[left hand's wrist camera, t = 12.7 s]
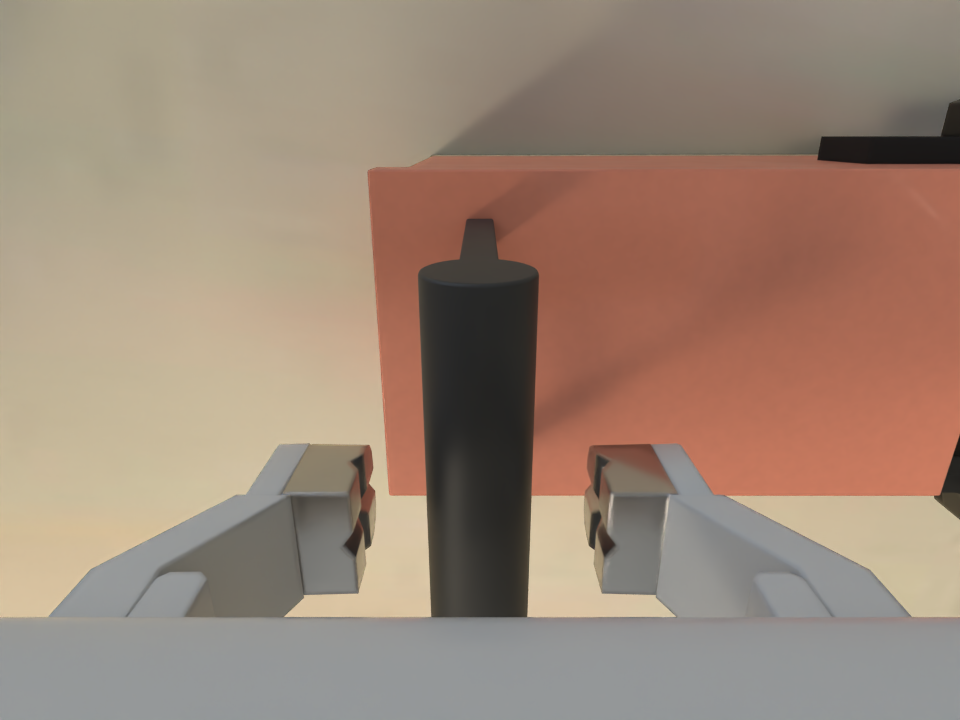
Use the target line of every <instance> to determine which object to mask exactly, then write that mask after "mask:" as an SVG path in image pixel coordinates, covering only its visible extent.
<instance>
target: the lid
mask: <svg viewBox="0 0 960 720" xmlns="http://www.w3.org/2000/svg"><path fill="white" fill-rule="evenodd" d="M368 185H369V200H370V215H371V230H372V245H373V260H374V275H375V290H376V305H377V320H378V335H379V350H380V365H381V380H382V395H383V410H384V425H385V440H386V455H387V470H388V485H389V494H390V495H427V518H428V543H429V568H430V593H431V617H527V608H528V579H529V551H530V522H531V495H585V490H586V489H587V488H588V487H589V486H590V485H591V481H590V478H589V474H588V471H587V458H588V452H589V447H590V446H592V445H625V444H670V443H677V444H679V445H681V446H682V447H683V449H684V450H685V452H686V453H687V455H688V456H689V458H690V459H691V461H692V462H693V464H694V465H695V467H696V468H697V470H698V471H699V473H700V474H701V476H702V477H703V479H704V480H705V482H706V483H707V485H708V486H709V488H710V489H711V491H712V492H713V494H714V495H725V496H938V495H940V494H941V491H942V488H943V484H944V481H945V478H946V475H947V472H948V469H949V466H950V463H951V460H952V457H953V454H954V451H955V448H956V445H957V442H958V439H959V436H960V166H902V167H376V168H373V169H370V170H368Z"/></svg>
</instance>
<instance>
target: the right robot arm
mask: <svg viewBox="0 0 960 720" xmlns="http://www.w3.org/2000/svg"><path fill="white" fill-rule="evenodd" d="M817 160H822V161H835V162H847V163H860V164H960V99H959V100H957V101H954V102H952V103H950V104H949V108H948V111H947V115H946V119H945V123H944V127H943V130H942V134H941V136H851V137H822V138H821V143H820V148H819V153H818V158H817ZM934 497H935V499H936V500H937V501H938V502H939V503H940V504H941V505H943V506H944V507H945V508H946V509H947V510H949V511H950V512H951V513H952V514H954V515H955V516H956V517H957V518H959V519H960V436H959V439H958V442H957V445H956V448H955V451H954V454H953V457H952V460H951V463H950V466H949V469H948V472H947V475H946V478H945V481H944V484H943V488H942V491H941V494H940V495H938V496H934Z"/></svg>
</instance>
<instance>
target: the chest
mask: <svg viewBox="0 0 960 720" xmlns="http://www.w3.org/2000/svg"><path fill="white" fill-rule="evenodd" d="M817 158H818V154H769V155H432V156H431V157H430V158H428V159H426V160H423V161H421V162H419V163H417V164H415V165H413V166H411V167H902V166H960V164H860V163H847V162H835V161H822V160H817Z"/></svg>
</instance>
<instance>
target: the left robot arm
mask: <svg viewBox="0 0 960 720" xmlns="http://www.w3.org/2000/svg"><path fill="white" fill-rule="evenodd" d="M372 471H373V460H372V451H371V448H370V446H369V445H340V444H309V443H303V444H281V445H278V447H277V448H276V449H275V451H274V452H273V454H272V456H271V457H270V459H269V460H268V462H267V463H266V465H265V466H264V468H263V469H262V471H261V472H260V474H259V475H258V477H257V478H256V480H255V481H254V483H253V485H252V486H251V488H250V489H249V491H248V492H247V494H246V495H235V496H233V497H231V498H229V499H227V500H226V501H224V502H222V503H220V504H218V505H216V506H214V507H212V508H210V509H208V510H206V511H204V512H202V513H200V514H198V515H196V516H194V517H192V518H190V519H188V520H186V521H184V522H182V523H181V524H179V525H177V526H175V527H173V528H171V529H169V530H167V531H165V532H163V533H161V534H159V535H157V536H155V537H153V538H151V539H149V540H147V541H145V542H143V543H141V544H139V545H137V546H135V547H134V548H132V549H130V550H128V551H126V552H124V553H122V554H120V555H118V556H116V557H114V558H112V559H110V560H108V561H106V562H104V563H102V564H100V565H98V566H96V567H94V568H92V569H91V570H90V571H89V572H88V573H87V574H86V575H85V576H84V578H83V579H82V580H81V581H80V582H79V583H78V584H77V585H76V586H75V588H74V589H73V590H72V591H71V592H70V593H69V594H68V595H67V596H66V598H65V599H64V600H63V601H62V602H61V603H60V604H59V605H58V606H57V608H56V609H55V610H54V611H53V612H52V613H51V614H50V615H49V617H0V720H960V617H911V615H910V614H909V613H908V612H907V611H906V610H905V609H904V608H903V606H902V605H901V604H900V603H899V602H898V601H897V600H896V599H895V597H894V596H893V595H892V594H891V593H890V592H889V591H888V590H887V588H886V587H885V586H884V585H883V584H882V583H881V582H880V581H879V579H878V578H877V577H876V576H875V575H874V574H873V573H872V572H871V571H870V570H869V569H867V568H865V567H863V566H861V565H859V564H857V563H855V562H853V561H851V560H849V559H847V558H846V557H844V556H842V555H840V554H838V553H836V552H834V551H832V550H830V549H828V548H826V547H824V546H822V545H820V544H818V543H816V542H814V541H812V540H810V539H808V538H807V537H805V536H803V535H801V534H799V533H797V532H795V531H793V530H791V529H789V528H787V527H785V526H783V525H781V524H779V523H777V522H775V521H773V520H771V519H769V518H768V517H766V516H764V515H762V514H760V513H758V512H756V511H754V510H752V509H750V508H748V507H746V506H744V505H742V504H740V503H738V502H736V501H734V500H732V499H730V498H728V497H727V496H725V495H714V494H713V492H712V491H711V489H710V488H709V486H708V485H707V483H706V482H705V480H704V479H703V477H702V476H701V474H700V473H699V471H698V470H697V468H696V467H695V465H694V464H693V462H692V461H691V459H690V458H689V456H688V455H687V453H686V452H685V450H684V449H683V447H682V446H681V445H679V444H677V443H670V444H625V445H592V446H590V447H589V452H588V458H587V471H588V474H589V478H590V481H591V485H590V486H589V487H588V488H587V489H586V490H585V500H584V520H585V530H586V536H587V540H588V544H589V546H590V547H591V548H593V549H594V550H595V555H594V567H595V570H596V574H597V578H598V581H599V585H600V588H601V592H602V593H605V594H642V595H656V598H657V599H658V600H659V601H660V602H661V603H663V604H664V605H665V606H666V607H667V608H668V609H669V610H670V611H671V612H672V613H673V614H674V615H675V616H676V617H284V616H285V615H286V614H287V613H288V612H289V611H290V610H291V609H292V608H294V607H295V606H296V605H297V604H298V603H299V602H300V601H301V600H302V599H303V598H304V595H317V594H353V593H358V592H359V588H360V585H361V581H362V577H363V574H364V570H365V566H366V556H365V550H366V549H367V548H369V547H370V546H371V544H372V539H373V535H374V528H375V519H376V499H375V490H374V489H373V488H372V487H371V486H370V485H369V481H370V477H371V474H372Z"/></svg>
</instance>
